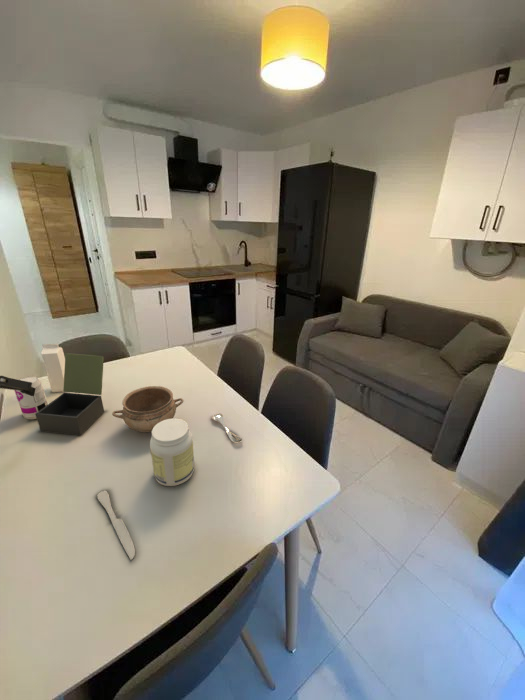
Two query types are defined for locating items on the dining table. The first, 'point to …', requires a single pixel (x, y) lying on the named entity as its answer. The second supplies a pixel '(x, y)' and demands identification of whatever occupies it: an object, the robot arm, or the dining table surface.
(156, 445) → the supplement tub
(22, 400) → the supplement can
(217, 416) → the silver spoon
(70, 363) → the bin lid
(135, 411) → the cooking pot
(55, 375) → the milk
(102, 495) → the butter knife
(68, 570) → the dining table surface
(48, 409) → the bin
